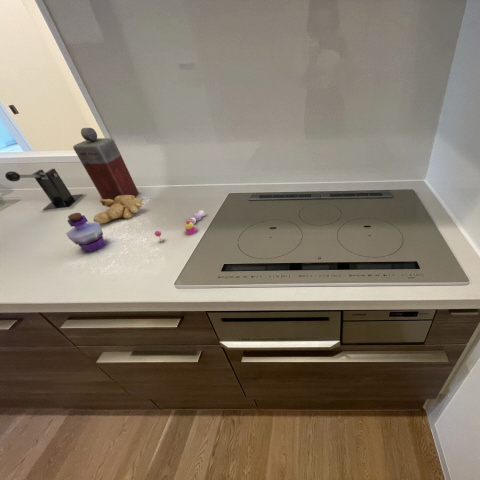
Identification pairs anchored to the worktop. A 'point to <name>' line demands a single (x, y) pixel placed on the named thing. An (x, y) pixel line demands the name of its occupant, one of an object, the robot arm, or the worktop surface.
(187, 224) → the pink and purple pieces
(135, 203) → the ginger root
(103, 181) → the red square bottle
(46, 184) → the lever switch
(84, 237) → the potion bottle
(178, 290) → the worktop surface
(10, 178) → the tap lever
